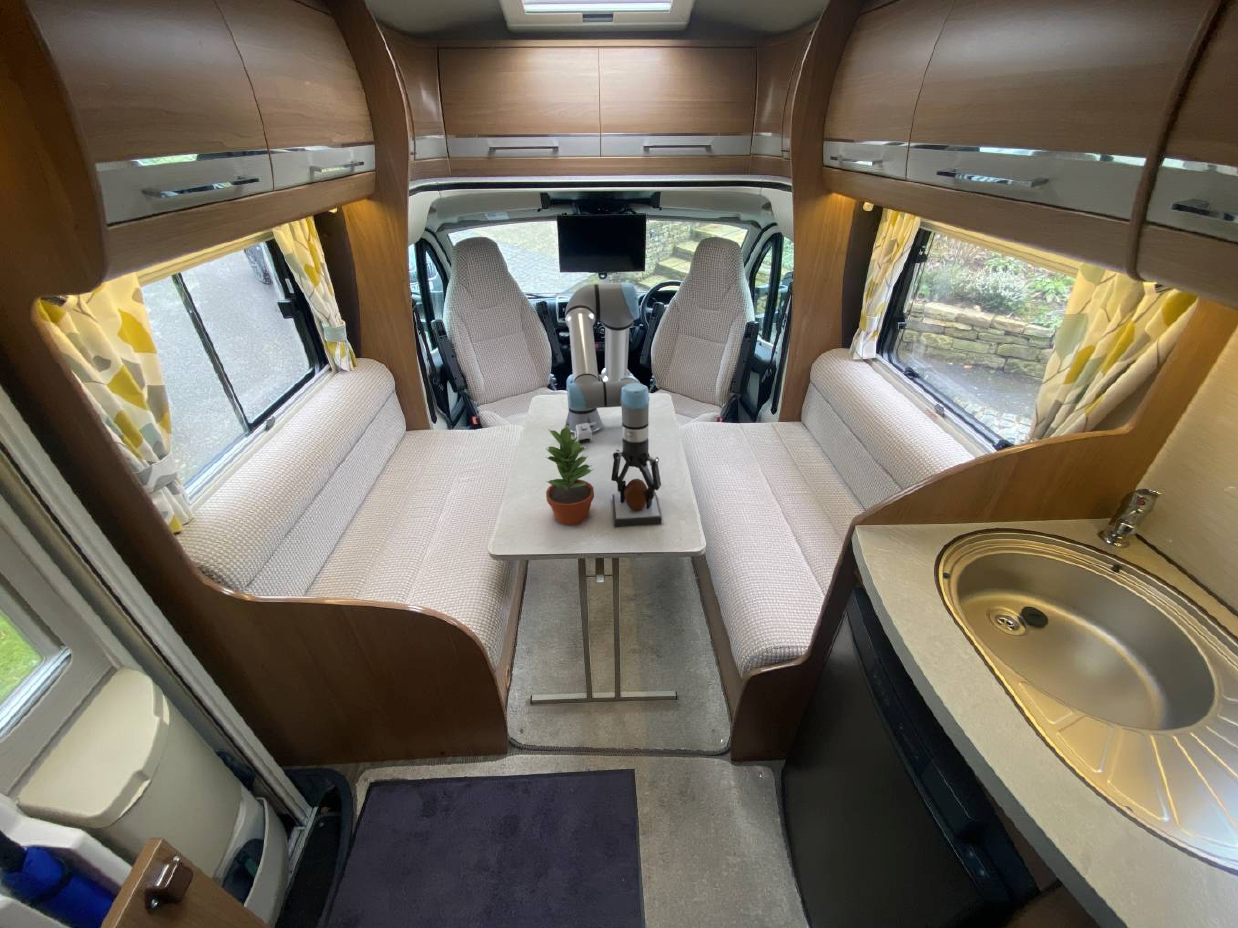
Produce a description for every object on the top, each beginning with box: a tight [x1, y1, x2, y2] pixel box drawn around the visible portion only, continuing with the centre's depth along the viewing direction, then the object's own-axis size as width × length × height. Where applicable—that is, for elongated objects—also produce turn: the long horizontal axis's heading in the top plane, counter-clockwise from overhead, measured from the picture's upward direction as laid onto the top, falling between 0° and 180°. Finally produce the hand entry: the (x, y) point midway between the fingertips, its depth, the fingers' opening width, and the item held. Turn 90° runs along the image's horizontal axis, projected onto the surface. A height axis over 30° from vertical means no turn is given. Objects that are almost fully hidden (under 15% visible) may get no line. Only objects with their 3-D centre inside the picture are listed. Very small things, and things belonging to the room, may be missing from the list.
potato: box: [624, 478, 648, 512], centre depth 152 cm, size 8×12×8 cm, turn 179°
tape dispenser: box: [574, 423, 593, 445], centre depth 195 cm, size 6×7×10 cm
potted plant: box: [545, 424, 595, 526], centre depth 147 cm, size 15×15×30 cm
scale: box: [612, 491, 662, 528], centre depth 155 cm, size 14×14×3 cm
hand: (636, 503), depth 154 cm, fingers closed on potato, 8 cm apart
